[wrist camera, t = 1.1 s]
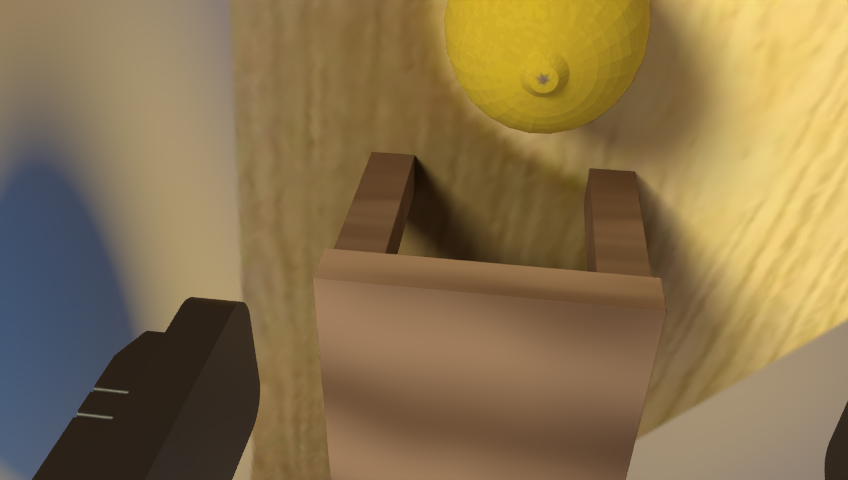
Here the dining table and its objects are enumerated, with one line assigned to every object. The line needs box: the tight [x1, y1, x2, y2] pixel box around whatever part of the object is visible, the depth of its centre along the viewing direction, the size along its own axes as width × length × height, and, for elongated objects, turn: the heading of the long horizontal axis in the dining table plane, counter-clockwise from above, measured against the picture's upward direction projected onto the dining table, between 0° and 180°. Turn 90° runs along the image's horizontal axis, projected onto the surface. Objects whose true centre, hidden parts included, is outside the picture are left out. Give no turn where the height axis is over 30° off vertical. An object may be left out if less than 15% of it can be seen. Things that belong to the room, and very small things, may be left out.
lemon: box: [444, 0, 651, 134], centre depth 22 cm, size 6×6×8 cm
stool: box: [313, 152, 667, 480], centre depth 28 cm, size 10×10×8 cm
